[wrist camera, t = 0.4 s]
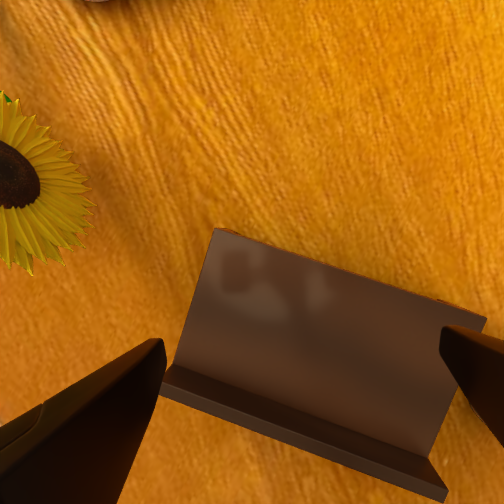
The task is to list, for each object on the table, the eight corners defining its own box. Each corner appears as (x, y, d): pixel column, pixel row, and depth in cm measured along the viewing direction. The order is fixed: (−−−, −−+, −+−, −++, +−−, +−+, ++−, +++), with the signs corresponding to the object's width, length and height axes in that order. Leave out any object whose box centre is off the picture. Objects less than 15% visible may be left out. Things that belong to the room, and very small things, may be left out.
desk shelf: (398, 430, 24) (443, 504, 17) (186, 351, 25) (154, 393, 19) (450, 302, 22) (520, 331, 16) (225, 228, 24) (205, 226, 17)
